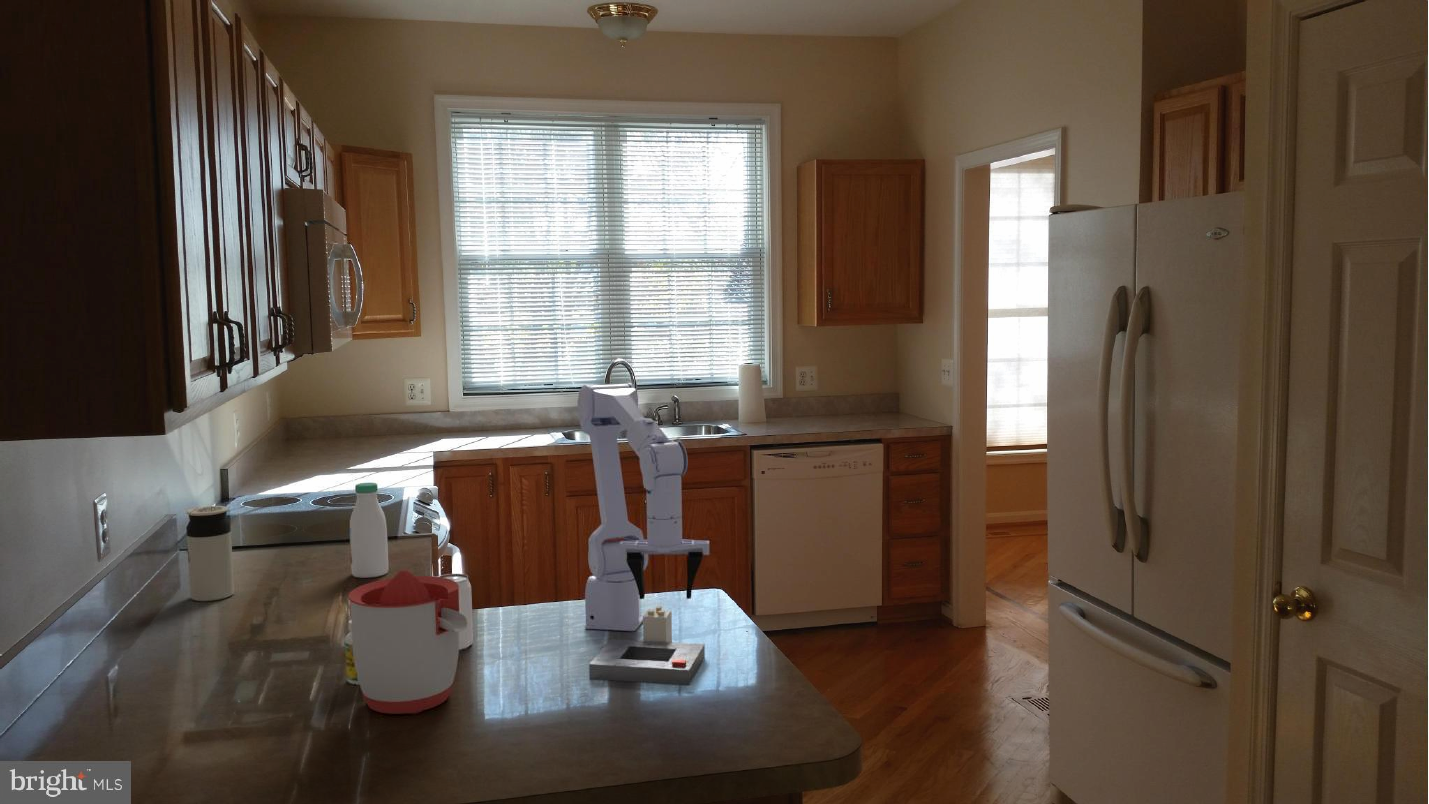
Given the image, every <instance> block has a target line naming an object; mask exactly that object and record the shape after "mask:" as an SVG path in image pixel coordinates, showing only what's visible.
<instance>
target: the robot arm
mask: <svg viewBox="0 0 1429 804" xmlns="http://www.w3.org/2000/svg"><path fill="white" fill-rule="evenodd" d="M577 397H578V398H577V409H578V410H577V411H578V419H579V426H580V429H581V432H582V433H584V434H587V435H588V436H589V442H590V447H591V453H592V461H593V469H594V476H595V483H596V485H595V486H596V494H597V500H598V509H599V514H600V521H601V522H600V523H601V524H600V525H599V526H598V527H597V529H595V530H594V531H593V532H592V533H591V535H589V538H588V553H587V560H588V567H589V570H590V572H591V574H592V575H590V576H589V577H588V579H587V581H586V584H585V592H584V602H585V603H584V606H585V607H584V608H585V625H584V629H587V630H588V629H589V630H604V631H605V630H607V631H609V630H610V631H626V632H627V631H628V632H635V631H637V629H638V628H639V627H640V626H641V624H643V616H644V615H645V614H644V615H641V614H640V600H644V599H645V597H646V596H645V595H646V589H645V588H646V587H645V579H644V578H645V576H644V572H645V570H646V568H647V566H648V564H649V555H687V556H686V574H687V575H686V576H687V577H686V580H687V583H686V600H689V599H690V600H691V599H692V591H693V585H694V582H695V579H696V576H697V574H698V570H699V568H700V567H701V564H702V561H703V556H709V555H710V540H700V539H699V540H698V539H697V540H696V539H688V538H687V539H683V518H682V517H683V503H682V501H683V500H682V499H683V497H682V496H683V495H682V477H683V476H684V475H685V474H686V473H687V469H688V463H689V461H688V453H687V450H686V447H685V445H684V444H683V442H682V441H681V440H674V439H669V437H668V436H667V435H666V434H665V432H664V431H663V430H662V429H661V428H660V426H659V425H658V424H657V422H655V420H653V418H646V417H645V416H644V415H643V413H642V411H641V409H640V408H639V396H638V391H637V389H636V387H635V386H634V385H633V384H632V383H631V382H625V383H619V384H618V383H616V384H614V383H613V384H596V385H595V384H594V385H589V384H584V385H582V387H581V388H580V390H579V392H578V396H577ZM625 430H626V431H627V432H626V441H627V443H628V444H629V445H630V447H631V448H632V450H633V451H634V453H635V454H636V456H637V457H638V458H639V469H640V472H641V474H642V475H641V476H642V485H643V488H644V489H646V531H647V532H646V536H647V537H646V538H647V539H645V538H644V533H643V530H641V528H639V527H637V526H636V525H635V524H633V523H632V522H630V521H629V519H628V518H629V517H628V511H627V503H626V496H625V495H626V494H625V489H624V482H623V481H624V480H623V474H622V466H621V465H622V464H621V458H620V452H619V451H620V449H619V445H618V436H619V433H621V432H622V431H625ZM617 539H621V540H617ZM608 540H613V541H608ZM604 541H606V542H604Z"/></svg>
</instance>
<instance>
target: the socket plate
mask: <svg viewBox="0 0 1429 804" xmlns="http://www.w3.org/2000/svg"><path fill="white" fill-rule="evenodd" d="M705 645H706V644H704V643H690V642H689V643H688V642H686V643H685V642H684V643H683V642H673V641H672V642H656V641H643V640H633V639H619V638H618V639H617V638H616V639H615V638H614V639H613V638H610V640H609V641H608V642H607V644H605V645H604V646H603V648H602V649H601V650H600V651H599V652H598V653H597V655H596V656H595V657H594V658H593V659H592V660H591V661H590V662H589V664H588V670H589V673H588V674H589V680H599V679H602V680H601V681H617V682H632V683H633V682H634V683H647V684H649V683H650V684H663V685H664V684H665V685H679V686H689V685H691V683H692V681H693V679H694V677H695V676H696V674H697V672H698V671H699V669H700V667H701V666H702V664H703V662H704V660H705V659H706V656H705V655H706V653H705V651H706V650H705V649H706V647H705Z"/></svg>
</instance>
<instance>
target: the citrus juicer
mask: <svg viewBox="0 0 1429 804" xmlns="http://www.w3.org/2000/svg"><path fill="white" fill-rule="evenodd" d="M348 601H350V612H351V613H350V614H351V619H352V641H353V656H354V665H355V670H356V674H357V678H358V682H359V684H360V685H359V687H360V690H361V694H362V696H363V698H364V700H365V702H366V704H367V706H368V707H369V708H370V709H371V710H373V711H375V712H378V713H383V714H389V715H390V714H391V715H398V714H399V715H402V714H410V715H417V714H420V713H422V712H423V711H426V710H430V709H432V708H434V707H437V706H440V705H441V704H442V703H444V702H445V701H446V700H447V699H449V696H450V693H451V691H452V689H453V686H454V683H455V676H456V673H457V667H458V662H459V661H458V659H459V654H460V652H459V632H460V631H462V630H464V629H465V628H466V627H467V619H466V617H465V616H464V615H463V614H461V613H459V585H458V584H457V583H456V582H455V581H453V580H450V579H447V578H442V577H438V576H429V575H428V576H427V575H426V576H425V575H414V574H413V573H412V572H410V571H408V570H407V569H401V570H400V571H399V572H398V573H397V574H395V575H394V576H393V577H392V578H385V579H380V580H377V581H376V580H375V581H371V582H369V583H366V584H363V585H359V586H357V587H355V588H353V590H351V591H350V592H349V594H348ZM351 619H350V620H351ZM419 712H420V713H419ZM416 713H417V714H416Z"/></svg>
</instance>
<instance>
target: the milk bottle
mask: <svg viewBox="0 0 1429 804" xmlns="http://www.w3.org/2000/svg"><path fill="white" fill-rule="evenodd" d="M378 489H379V488H378V483H376V482H360V483H357V484H355V486H354V491H355V495H356V501H355V505H354V507H353V510H352V512H351V514H350V520H349V545H350V548H349V549H350V567H351V574H352V577H354V578H358V579H359V578H361V579H365V578H367V579H368V578H376V577H381V576H384V575H386V574H388V572H389V547H388V545H389V544H388V528H387V519H386V515H385V512H384V510H383V508H382V507H381V505H380V503H379V500H378V495H377V494H378Z"/></svg>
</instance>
